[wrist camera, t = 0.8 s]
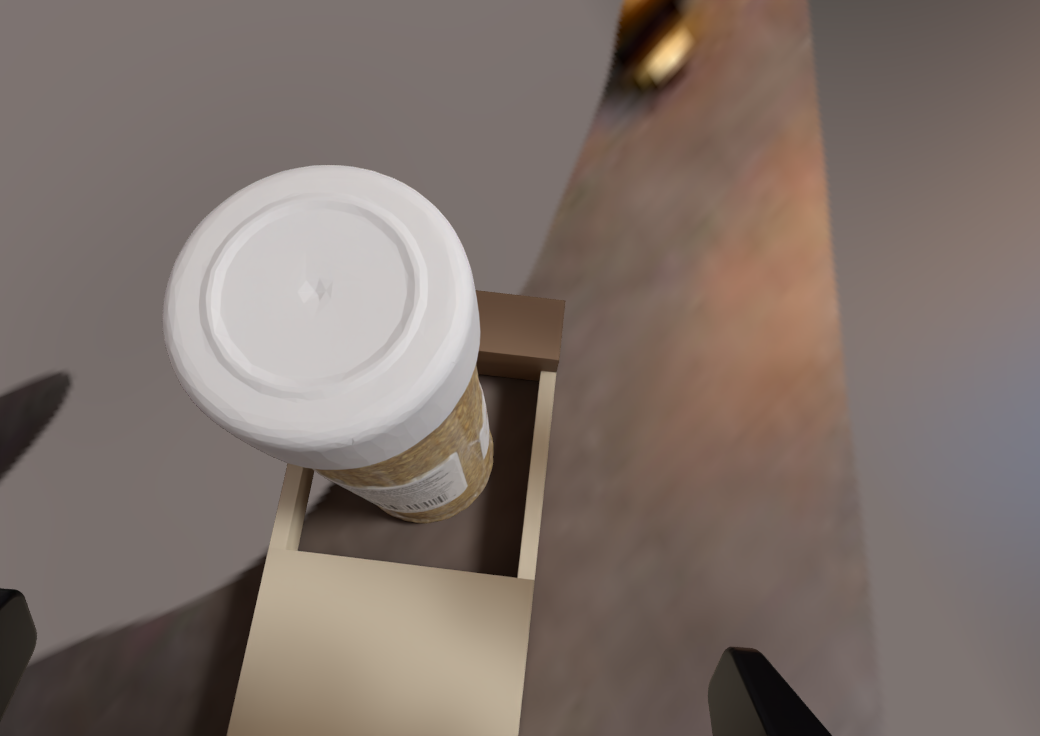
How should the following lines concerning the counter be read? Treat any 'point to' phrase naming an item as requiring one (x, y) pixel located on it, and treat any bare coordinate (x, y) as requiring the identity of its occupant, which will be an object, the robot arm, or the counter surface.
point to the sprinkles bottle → (338, 336)
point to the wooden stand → (402, 600)
